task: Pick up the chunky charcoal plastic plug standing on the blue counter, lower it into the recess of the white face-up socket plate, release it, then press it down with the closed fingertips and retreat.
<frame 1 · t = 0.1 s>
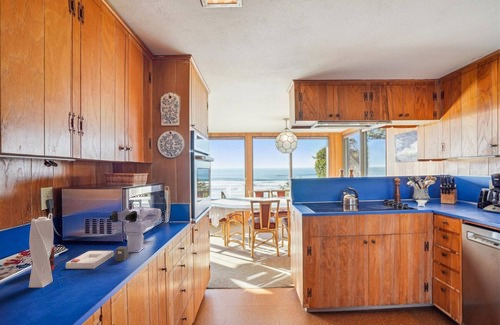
hand: (118, 217, 132), 22 cm above the countertop, tool horizontal, fingers open, 7 cm apart
canned food: (43, 271, 120), on the countertop
socket plate: (91, 261, 132), on the countertop
skyscraper: (41, 285, 106), on the countertop
plug: (121, 259, 135), on the countertop
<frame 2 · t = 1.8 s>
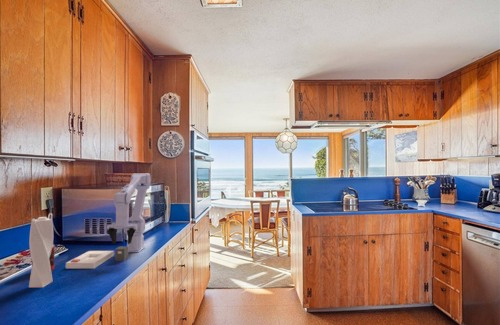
hand: (121, 243, 136), 8 cm above the countertop, tool pointing down, fingers open, 7 cm apart
nothing on the countertop moved.
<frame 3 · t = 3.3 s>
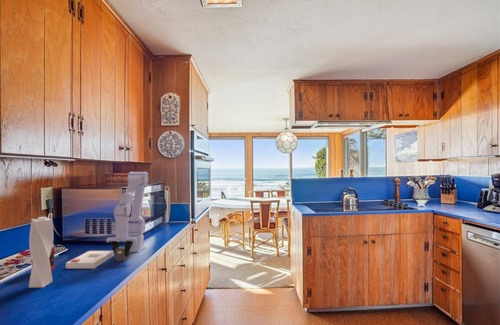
hand: (121, 256, 135), 2 cm above the countertop, tool pointing down, fingers closed on plug, 4 cm apart
plug: (121, 259, 135), on the countertop, touching gripper
everything else where it was.
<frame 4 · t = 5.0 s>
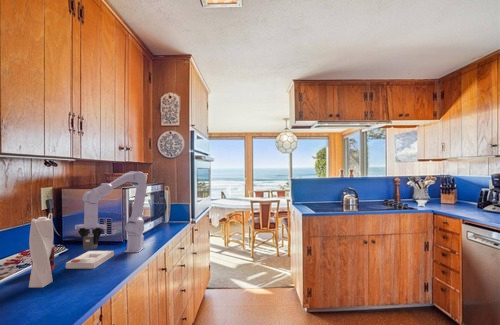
hand: (90, 243, 132), 9 cm above the countertop, tool pointing down, fingers closed on plug, 4 cm apart
plug: (90, 248, 131), point 7 cm above the countertop, touching gripper
everything else where it was.
when the fingers open (4 cm above the countertop, at t = 6.9 s): plug stays where it is, resting on socket plate.
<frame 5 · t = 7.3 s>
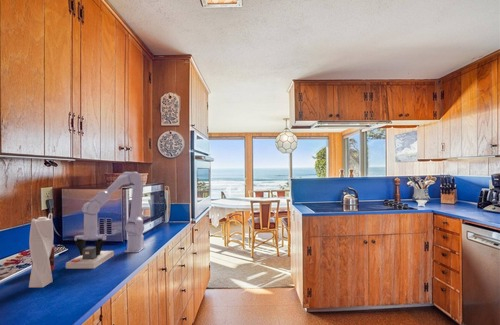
hand: (90, 254, 131), 4 cm above the countertop, tool pointing down, fingers open, 7 cm apart
plug: (89, 260, 131), point 1 cm above the countertop, touching socket plate
everything else where it was.
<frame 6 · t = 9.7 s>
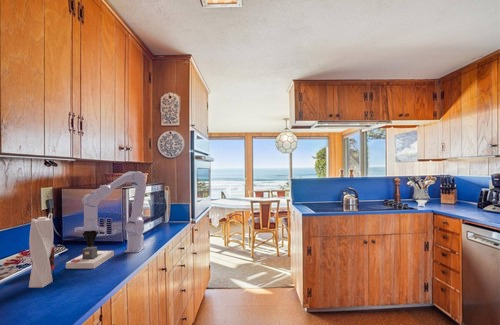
hand: (90, 246, 132), 8 cm above the countertop, tool pointing down, fingers closed
nothing on the countertop moved.
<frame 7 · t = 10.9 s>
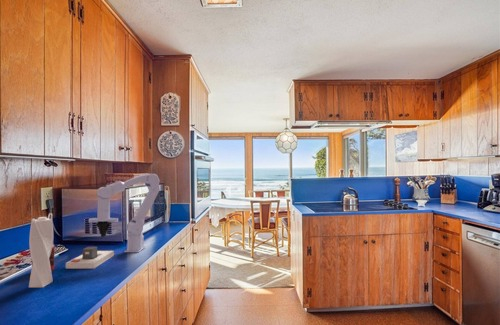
hand: (103, 236, 141), 10 cm above the countertop, tool pointing down, fingers closed
nothing on the countertop moved.
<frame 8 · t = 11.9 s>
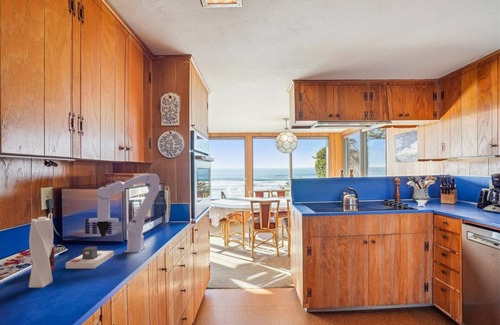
hand: (103, 236, 141), 10 cm above the countertop, tool pointing down, fingers closed
nothing on the countertop moved.
at the end: plug 0.3 cm from the target spot on the socket plate, point 1.0 cm above the socket plate's base; plug tilted 0°; the gripper is holding nothing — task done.
